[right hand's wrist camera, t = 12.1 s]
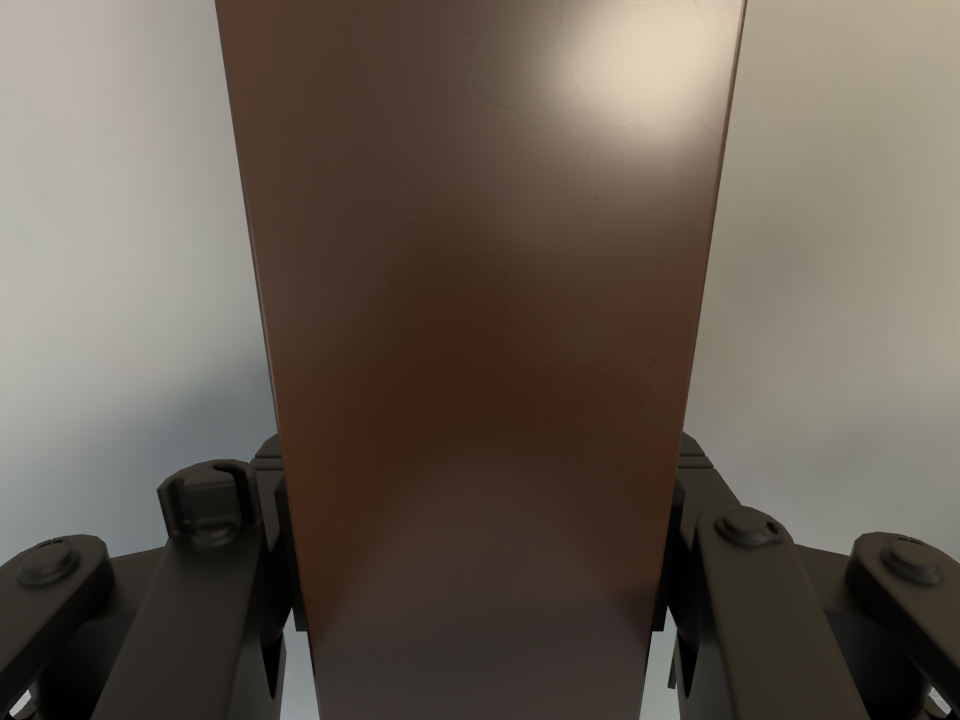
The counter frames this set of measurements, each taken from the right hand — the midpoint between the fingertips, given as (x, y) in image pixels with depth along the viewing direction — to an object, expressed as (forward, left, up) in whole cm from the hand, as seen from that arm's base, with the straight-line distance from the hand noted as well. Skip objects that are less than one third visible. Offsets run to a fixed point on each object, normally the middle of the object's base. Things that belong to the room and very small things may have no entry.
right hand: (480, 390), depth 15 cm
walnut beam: (0, -12, 0) cm, 12 cm away
